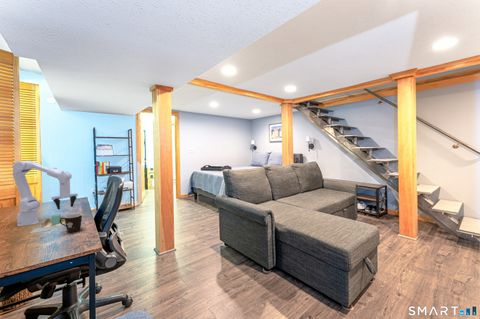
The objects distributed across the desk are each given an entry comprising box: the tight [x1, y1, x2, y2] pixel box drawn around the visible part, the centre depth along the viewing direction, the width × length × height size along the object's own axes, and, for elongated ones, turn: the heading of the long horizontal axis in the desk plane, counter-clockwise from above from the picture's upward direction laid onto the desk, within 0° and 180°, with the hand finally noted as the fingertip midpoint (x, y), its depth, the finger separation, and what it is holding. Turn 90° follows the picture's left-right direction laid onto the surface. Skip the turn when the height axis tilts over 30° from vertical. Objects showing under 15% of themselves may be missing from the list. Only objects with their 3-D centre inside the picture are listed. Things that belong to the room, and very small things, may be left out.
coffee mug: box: [60, 213, 83, 234], centre depth 130 cm, size 12×9×10 cm
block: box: [50, 213, 62, 225], centre depth 142 cm, size 4×4×6 cm
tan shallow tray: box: [41, 215, 66, 228], centre depth 142 cm, size 13×11×4 cm
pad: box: [29, 226, 54, 234], centre depth 131 cm, size 9×9×1 cm
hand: (65, 207), depth 147 cm, fingers open, 7 cm apart
